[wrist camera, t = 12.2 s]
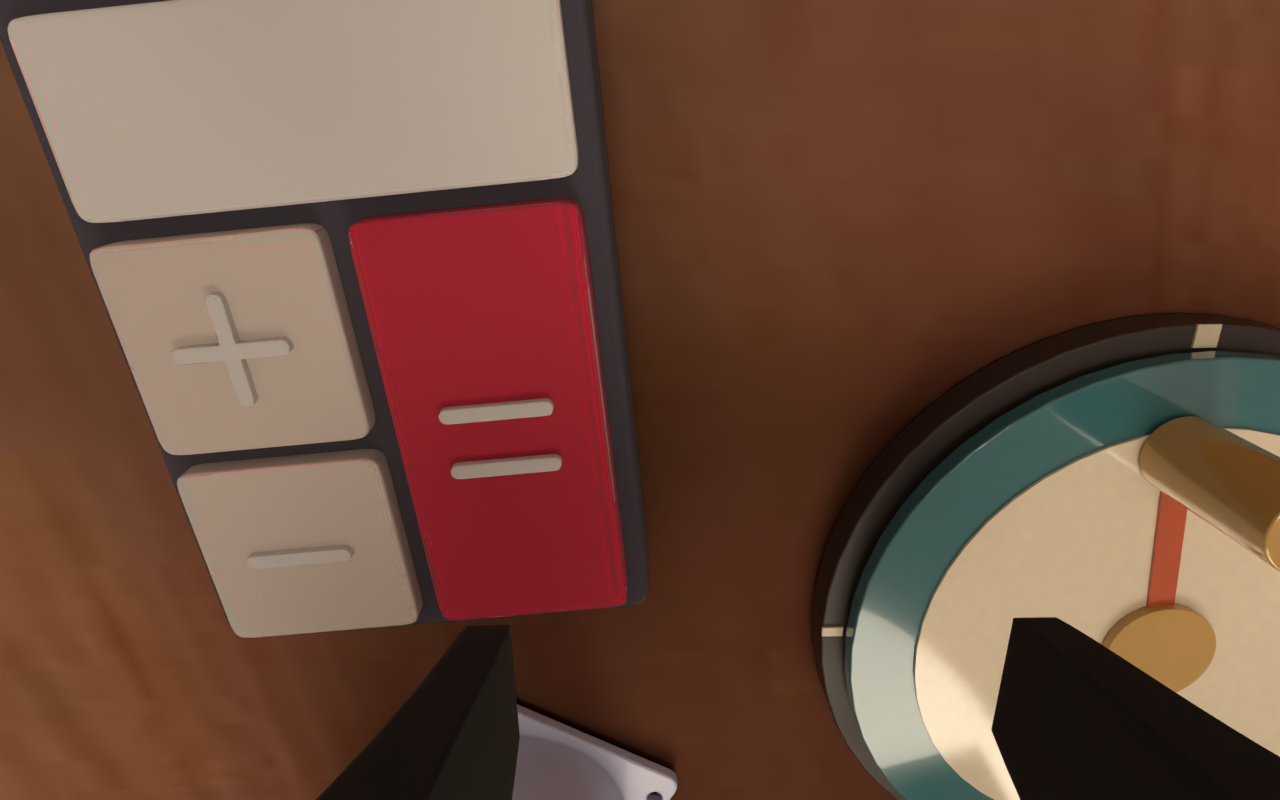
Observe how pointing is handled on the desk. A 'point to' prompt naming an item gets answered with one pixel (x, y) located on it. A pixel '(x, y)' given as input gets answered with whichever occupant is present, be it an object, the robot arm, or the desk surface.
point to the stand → (954, 425)
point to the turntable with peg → (1079, 562)
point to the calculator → (358, 293)
